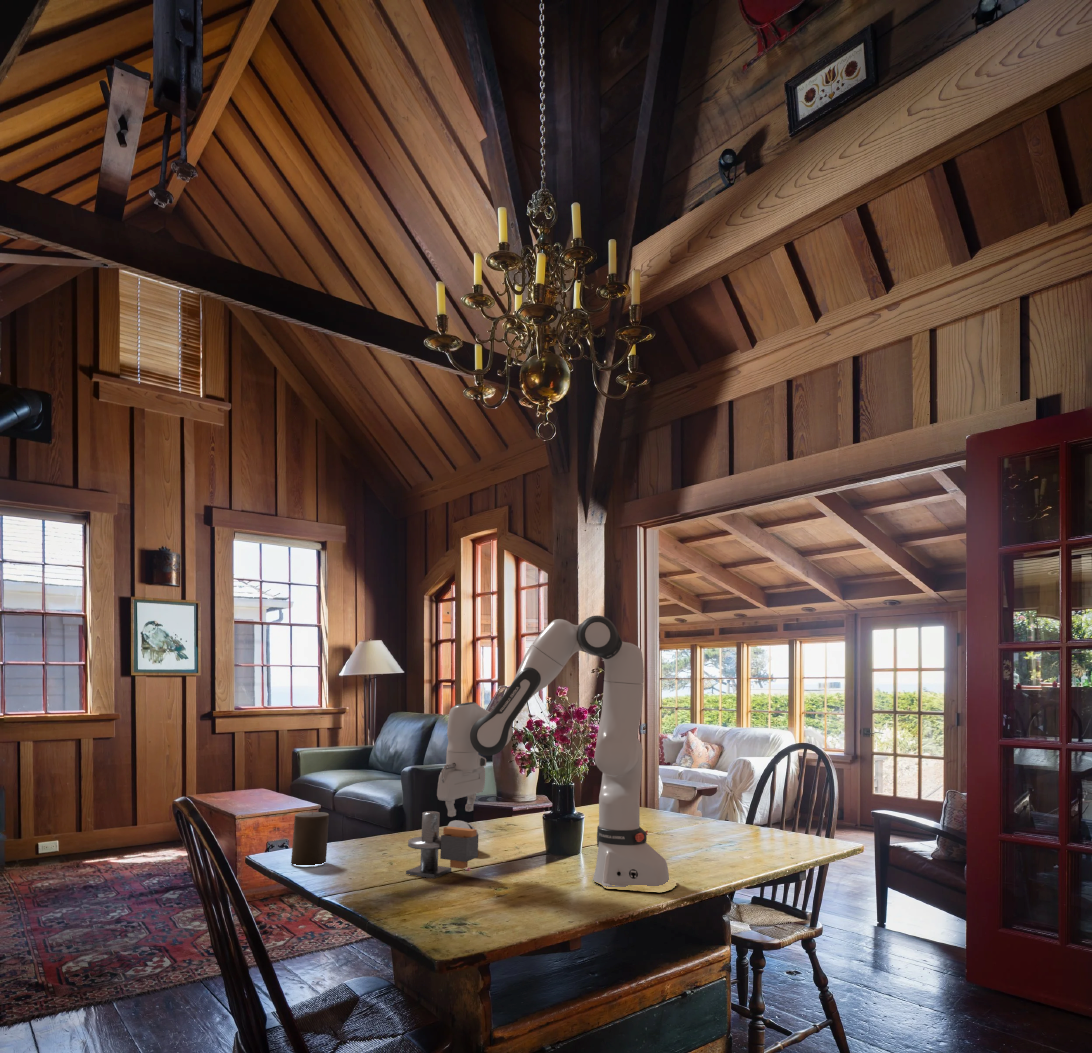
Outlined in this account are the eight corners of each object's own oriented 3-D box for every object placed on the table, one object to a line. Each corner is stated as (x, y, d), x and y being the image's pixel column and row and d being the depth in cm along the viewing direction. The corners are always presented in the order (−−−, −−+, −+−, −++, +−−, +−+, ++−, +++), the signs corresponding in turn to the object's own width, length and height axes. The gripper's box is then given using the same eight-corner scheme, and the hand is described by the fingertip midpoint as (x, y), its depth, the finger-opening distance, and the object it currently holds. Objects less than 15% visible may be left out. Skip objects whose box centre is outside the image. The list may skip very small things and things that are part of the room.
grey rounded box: (435, 847, 264) (446, 815, 267) (448, 850, 266) (459, 819, 269) (457, 857, 250) (468, 824, 253) (470, 861, 252) (481, 828, 255)
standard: (482, 874, 231) (483, 813, 233) (460, 884, 220) (462, 820, 223) (422, 866, 239) (424, 807, 241) (398, 875, 228) (400, 814, 231)
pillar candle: (313, 869, 233) (317, 813, 236) (283, 865, 236) (287, 810, 239) (332, 862, 242) (336, 808, 245) (304, 859, 245) (307, 806, 248)
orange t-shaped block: (475, 868, 227) (476, 829, 228) (470, 870, 224) (472, 831, 226) (447, 864, 230) (448, 826, 232) (442, 866, 228) (443, 828, 230)
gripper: (452, 766, 221) (450, 820, 219) (489, 759, 240) (488, 809, 237) (432, 764, 224) (430, 818, 222) (470, 757, 242) (468, 807, 240)
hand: (460, 813), depth 230 cm, fingers open, 8 cm apart
